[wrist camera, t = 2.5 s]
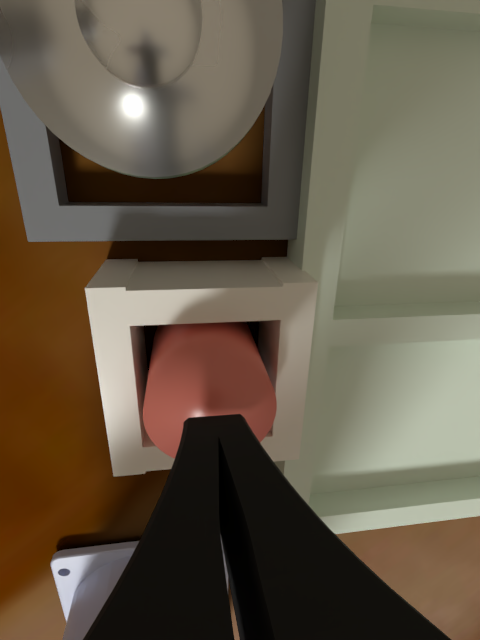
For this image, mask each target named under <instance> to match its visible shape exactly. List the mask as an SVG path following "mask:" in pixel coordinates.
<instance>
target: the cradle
mask: <svg viewBox="0 0 480 640" xmlns="http://www.w3.org/2000/svg"><path fill="white" fill-rule="evenodd" d="M282 7H283V37H282V46H281V55H280V60H279V65H278V69H277V74H276V77H275V80H274V83H273V86H272V89H271V92H270V95H269V97H268V99H267V101H266V103H265V121H264V145H263V169H262V193H261V203H153V202H69V201H68V195H67V188H66V182H65V175H64V169H63V163H62V156H61V150H60V143H59V138H58V137H57V136H56V135H55V134H53V133H52V132H51V131H50V129H49V128H48V127H47V126H46V125H45V124H44V123H43V122H42V121H41V120H40V119H39V118H38V117H37V116H36V114H35V113H34V112H33V110H32V109H31V108H30V107H29V105H28V104H27V103H26V101H25V100H24V98H23V97H22V95H21V94H20V92H19V91H18V89H17V87H16V86H15V84H14V83H13V81H12V79H11V77H10V75H9V73H8V71H7V69H6V67H5V65H4V63H3V61H2V58H1V56H0V107H1V112H2V117H3V122H4V126H5V131H6V136H7V141H8V146H9V151H10V156H11V161H12V165H13V170H14V175H15V180H16V185H17V190H18V195H19V200H20V204H21V209H22V214H23V219H24V224H25V229H26V234H27V239H28V242H43V241H167V240H290V239H297V229H298V217H299V205H300V192H301V180H302V168H303V155H304V143H305V130H306V118H307V106H308V93H309V81H310V68H311V56H312V44H313V31H314V19H315V7H316V0H282Z"/></svg>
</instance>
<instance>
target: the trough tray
mask: <svg viewBox="0 0 480 640" xmlns="http://www.w3.org/2000/svg"><path fill="white" fill-rule="evenodd" d="M287 257H288V258H289V259H290V260H291V261H292V262H293V263H294V264H295V265H296V266H297V267H299V268H300V269H301V270H302V271H306V272H307V273H308V274H309V275H311V276H312V277H313V278H314V279H315V280H316V281H317V282H318V289H317V298H316V307H315V316H314V326H313V335H312V344H311V353H310V363H309V372H308V381H307V390H306V399H305V409H304V418H303V427H302V436H301V445H300V455H299V459H296V460H285V461H275V462H274V463H275V464H276V466H277V467H278V468H279V470H280V471H281V472H282V474H283V475H284V476H285V477H286V479H287V480H288V481H289V483H290V484H291V485H292V486H293V487H294V489H295V490H296V491H297V492H298V494H299V495H300V496H301V497H302V498H303V499H304V501H305V502H306V503H307V504H308V505H309V506H310V507H311V509H312V510H313V511H314V512H315V513H316V514H317V516H318V517H319V518H320V519H321V520H322V521H323V522H324V523H325V524H326V525H327V526H328V527H329V529H330V530H331V531H332V532H333V533H334V534H340V533H348V532H355V531H363V530H371V529H379V528H387V527H395V526H403V525H411V524H419V523H427V522H435V521H443V520H451V519H459V518H467V517H475V516H480V0H316V7H315V19H314V31H313V44H312V56H311V68H310V81H309V93H308V106H307V118H306V130H305V143H304V155H303V168H302V180H301V192H300V205H299V217H298V229H297V239H290V240H288V247H287Z"/></svg>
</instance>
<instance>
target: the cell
mask: <svg viewBox="0 0 480 640" xmlns="http://www.w3.org/2000/svg"><path fill="white" fill-rule="evenodd" d="M282 37H283V7H282V0H0V56H1V58H2V61H3V63H4V65H5V67H6V69H7V71H8V73H9V75H10V77H11V79H12V81H13V83H14V84H15V86H16V87H17V89H18V91H19V92H20V94H21V95H22V97H23V98H24V100H25V101H26V103H27V104H28V105H29V107H30V108H31V109H32V110H33V112H34V113H35V114H36V116H37V117H38V118H39V119H40V120H41V121H42V122H43V123H44V124H45V125H46V126H47V127H48V128H49V129H50V131H51V132H52V133H53V134H55V135H56V136H57V137H58V138H59V139H61V140H62V141H63V142H64V143H65V144H67V145H68V146H69V147H70V148H72V149H73V150H75V151H77V152H78V153H80V154H81V155H83V156H84V157H86V158H88V159H90V160H92V161H94V162H96V163H98V164H100V165H102V166H104V167H106V168H108V169H110V170H113V171H116V172H119V173H122V174H125V175H130V176H134V177H139V178H149V179H165V178H175V177H180V176H185V175H188V174H191V173H194V172H197V171H200V170H202V169H204V168H206V167H208V166H210V165H212V164H214V163H215V162H217V161H218V160H220V159H221V158H222V157H224V156H225V155H227V154H228V153H229V152H230V151H231V150H232V149H233V148H234V147H235V146H236V145H237V144H239V142H240V141H241V140H242V139H243V138H244V136H245V135H246V134H247V133H248V132H249V130H250V129H251V127H252V126H253V124H254V122H255V121H256V119H257V118H258V116H259V115H260V113H261V111H262V109H263V107H264V105H265V103H266V101H267V99H268V97H269V95H270V92H271V89H272V86H273V83H274V80H275V77H276V74H277V69H278V65H279V60H280V55H281V46H282Z"/></svg>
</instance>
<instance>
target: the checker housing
mask: <svg viewBox="0 0 480 640" xmlns="http://www.w3.org/2000/svg"><path fill="white" fill-rule="evenodd" d="M317 289H318V282H317V281H316V280H315V279H314V278H313V277H312V276H311V275H309V274H308V273H307V272H306V271H302V270H301V269H300V268H299V267H297V266H296V265H295V264H294V263H293V262H292V261H291V260H290V259H289V258H288V257H262V260H224V261H161V262H138V259H106V261H105V262H104V263H103V265H102V266H101V267H100V269H99V270H98V271H97V273H96V274H95V275H94V277H93V278H92V279H91V281H90V282H89V283H88V285H87V286H86V287H85V292H86V299H87V305H88V312H89V318H90V325H91V332H92V338H93V345H94V351H95V358H96V364H97V371H98V378H99V384H100V391H101V397H102V404H103V410H104V417H105V424H106V430H107V437H108V443H109V450H110V456H111V463H112V470H113V476H114V477H116V476H127V475H137V474H145V472H146V471H155V470H166V469H171V468H172V465H173V463H174V460H175V459H174V458H172V457H170V456H168V455H167V454H165V453H164V452H162V451H161V450H160V449H159V448H158V447H157V446H156V445H155V444H154V443H153V442H152V440H151V439H150V437H149V436H148V434H147V432H146V429H145V426H144V422H143V406H144V400H145V393H146V386H147V380H148V368H147V357H146V346H145V334H144V325H167V324H192V323H218V322H243V321H259V329H258V351H259V354H260V356H261V359H262V361H263V364H264V366H265V369H266V371H267V374H268V376H269V379H270V381H271V384H272V386H273V389H274V392H275V395H276V401H277V410H276V416H275V419H274V423H273V425H272V427H271V429H270V431H269V432H268V434H267V435H266V436H265V438H264V439H263V440H262V441H261V442H260V443H261V445H262V446H263V448H264V449H265V451H266V452H267V454H268V455H269V456H270V458H271V459H272V460H273V462H275V461H285V460H296V459H299V455H300V445H301V436H302V427H303V418H304V409H305V399H306V390H307V381H308V372H309V363H310V353H311V344H312V335H313V326H314V316H315V307H316V298H317Z"/></svg>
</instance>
